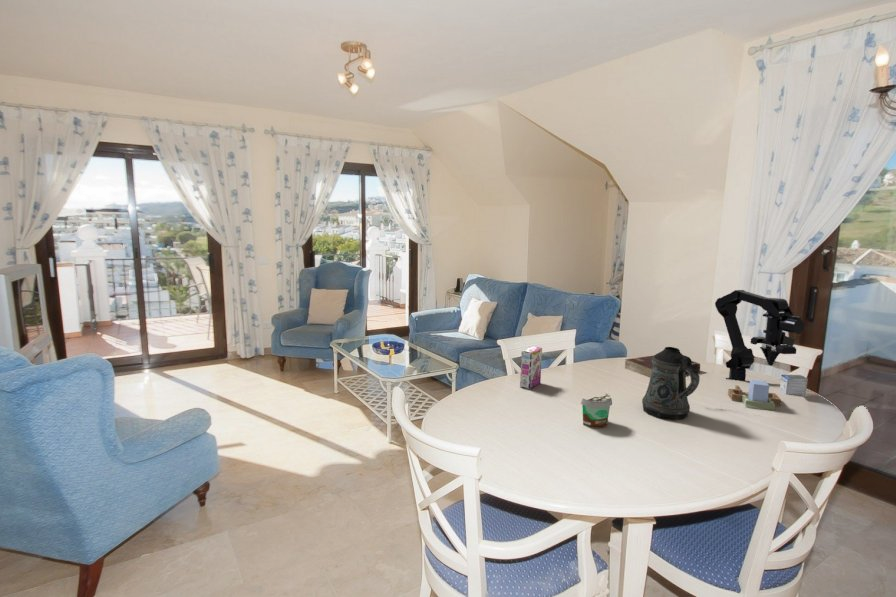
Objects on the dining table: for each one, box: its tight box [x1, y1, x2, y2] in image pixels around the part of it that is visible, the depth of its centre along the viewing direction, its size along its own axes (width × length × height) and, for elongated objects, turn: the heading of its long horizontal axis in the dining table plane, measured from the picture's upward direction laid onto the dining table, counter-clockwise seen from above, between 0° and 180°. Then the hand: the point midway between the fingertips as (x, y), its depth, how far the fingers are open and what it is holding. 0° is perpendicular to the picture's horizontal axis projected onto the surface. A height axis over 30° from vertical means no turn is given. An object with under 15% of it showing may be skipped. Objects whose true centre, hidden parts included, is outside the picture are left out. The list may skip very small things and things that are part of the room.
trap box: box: [727, 385, 782, 411], centre depth 190 cm, size 19×16×4 cm
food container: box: [580, 393, 613, 429], centre depth 169 cm, size 12×6×10 cm, turn 117°
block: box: [748, 378, 770, 402], centre depth 185 cm, size 6×5×9 cm
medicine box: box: [779, 374, 808, 399], centre depth 199 cm, size 8×4×9 cm, turn 84°
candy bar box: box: [519, 346, 543, 390], centre depth 210 cm, size 11×5×16 cm, turn 144°
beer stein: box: [641, 346, 701, 421], centre depth 179 cm, size 16×19×25 cm
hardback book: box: [624, 355, 701, 378], centre depth 234 cm, size 29×19×5 cm, turn 113°
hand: (770, 365), depth 202 cm, fingers closed
